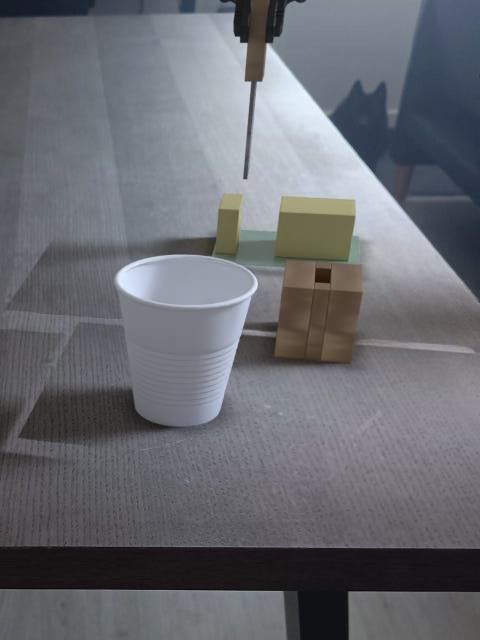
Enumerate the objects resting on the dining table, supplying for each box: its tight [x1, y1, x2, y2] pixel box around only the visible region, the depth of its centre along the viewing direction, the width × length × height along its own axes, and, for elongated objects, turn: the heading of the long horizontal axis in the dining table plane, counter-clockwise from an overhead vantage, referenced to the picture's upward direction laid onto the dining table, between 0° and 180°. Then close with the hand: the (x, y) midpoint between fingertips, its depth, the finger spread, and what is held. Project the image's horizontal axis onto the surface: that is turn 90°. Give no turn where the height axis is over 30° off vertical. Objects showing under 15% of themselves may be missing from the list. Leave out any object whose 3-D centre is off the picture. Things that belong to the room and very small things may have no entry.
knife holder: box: [273, 260, 364, 364], centre depth 84 cm, size 6×6×7 cm
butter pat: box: [215, 193, 244, 254], centre depth 103 cm, size 2×5×4 cm, turn 164°
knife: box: [242, 0, 270, 180], centre depth 96 cm, size 2×3×17 cm, turn 164°
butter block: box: [274, 195, 357, 261], centre depth 101 cm, size 7×5×4 cm
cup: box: [113, 254, 259, 428], centre depth 75 cm, size 10×10×11 cm
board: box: [211, 229, 361, 268], centre depth 104 cm, size 14×10×2 cm
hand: (256, 37), depth 92 cm, fingers closed on knife, 1 cm apart
